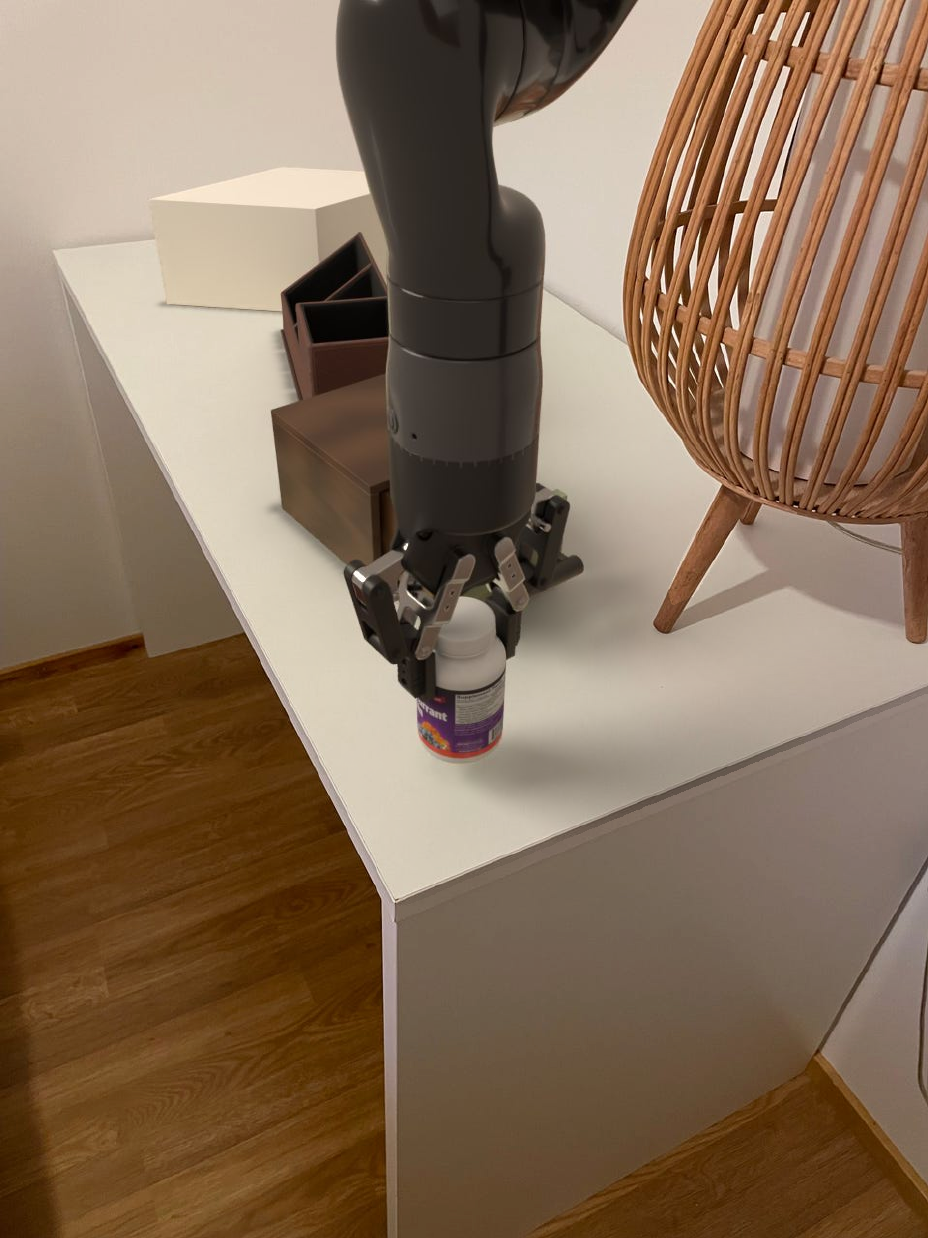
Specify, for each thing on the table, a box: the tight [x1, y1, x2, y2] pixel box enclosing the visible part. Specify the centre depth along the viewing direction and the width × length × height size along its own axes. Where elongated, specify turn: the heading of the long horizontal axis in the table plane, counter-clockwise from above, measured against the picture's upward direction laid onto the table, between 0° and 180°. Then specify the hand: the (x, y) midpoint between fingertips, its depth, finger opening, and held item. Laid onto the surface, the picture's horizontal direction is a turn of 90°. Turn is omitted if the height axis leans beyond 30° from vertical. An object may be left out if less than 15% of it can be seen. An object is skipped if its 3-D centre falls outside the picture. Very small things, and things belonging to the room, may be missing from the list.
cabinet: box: [270, 374, 390, 566], centre depth 82 cm, size 15×13×10 cm
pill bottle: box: [416, 597, 507, 765], centre depth 59 cm, size 5×5×10 cm
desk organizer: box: [279, 232, 389, 402], centre depth 101 cm, size 10×29×11 cm, turn 14°
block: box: [148, 166, 387, 312], centre depth 121 cm, size 18×35×12 cm, turn 110°
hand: (460, 671), depth 58 cm, fingers closed on pill bottle, 5 cm apart
